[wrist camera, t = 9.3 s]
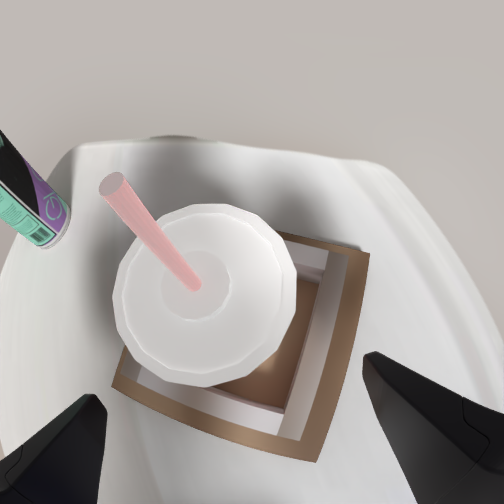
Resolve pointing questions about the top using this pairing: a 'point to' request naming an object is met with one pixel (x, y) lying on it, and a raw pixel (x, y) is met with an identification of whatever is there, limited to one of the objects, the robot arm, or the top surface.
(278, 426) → the cup holder board
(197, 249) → the beverage cup
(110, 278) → the top surface
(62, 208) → the spray can
